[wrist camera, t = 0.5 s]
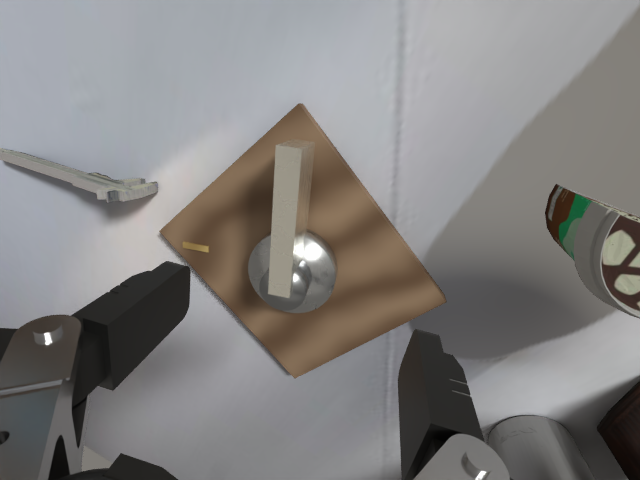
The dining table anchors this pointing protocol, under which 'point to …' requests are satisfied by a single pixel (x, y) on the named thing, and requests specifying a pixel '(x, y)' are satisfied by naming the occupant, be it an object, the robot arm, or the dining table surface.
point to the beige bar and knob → (293, 239)
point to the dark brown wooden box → (624, 432)
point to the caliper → (84, 178)
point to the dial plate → (325, 220)
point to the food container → (599, 245)
